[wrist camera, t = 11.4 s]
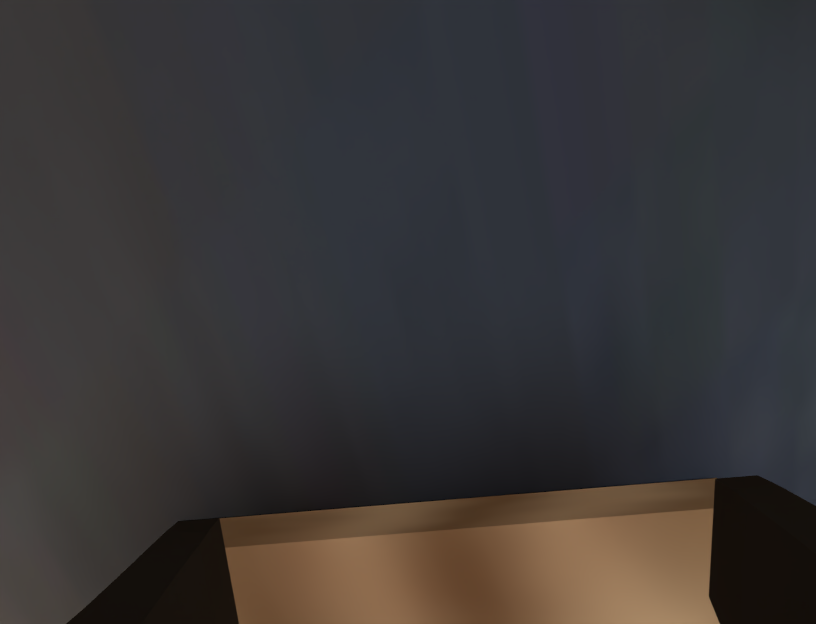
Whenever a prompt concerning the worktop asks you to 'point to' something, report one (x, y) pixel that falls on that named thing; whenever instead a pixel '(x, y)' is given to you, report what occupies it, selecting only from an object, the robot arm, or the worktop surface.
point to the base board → (483, 560)
